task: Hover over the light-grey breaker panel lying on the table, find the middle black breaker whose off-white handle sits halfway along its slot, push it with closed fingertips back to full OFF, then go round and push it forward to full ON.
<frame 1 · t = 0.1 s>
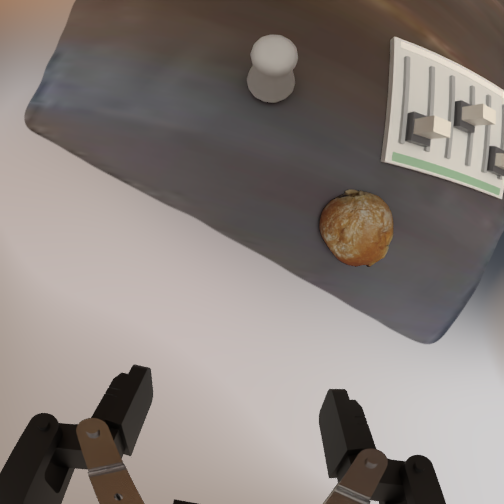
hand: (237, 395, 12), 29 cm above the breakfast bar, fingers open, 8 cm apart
breaker b: (474, 115, 29), point 5 cm above the breakfast bar, slide at 3.5 cm
breaker a: (427, 128, 30), point 5 cm above the breakfast bar, slide at 8.0 cm
bread roll: (354, 226, 40), on the breakfast bar
salt shaker: (270, 85, 34), on the breakfast bar
panel: (454, 121, 34), on the breakfast bar
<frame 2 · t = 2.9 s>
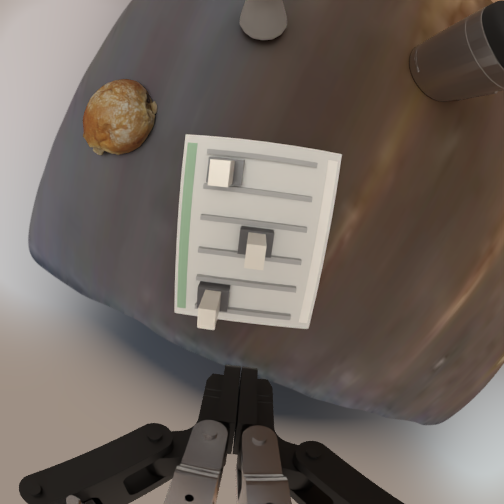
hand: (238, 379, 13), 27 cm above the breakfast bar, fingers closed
breaker b: (255, 247, 34), point 5 cm above the breakfast bar, slide at 3.5 cm
breaker a: (223, 171, 32), point 5 cm above the breakfast bar, slide at 8.0 cm
bread roll: (123, 120, 35), on the breakfast bar
breaker c: (210, 305, 36), point 5 cm above the breakfast bar, slide at 8.0 cm
salt shaker: (263, 28, 31), on the breakfast bar
panel: (252, 235, 39), on the breakfast bar
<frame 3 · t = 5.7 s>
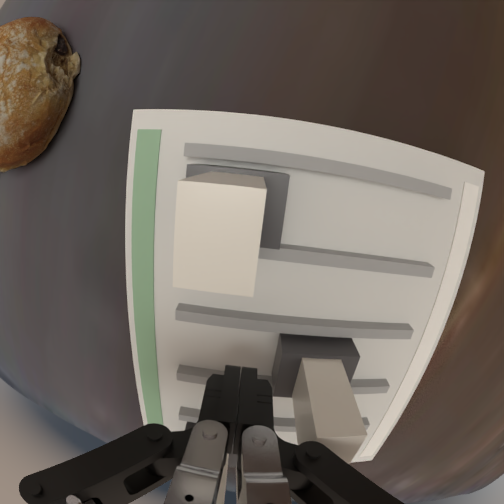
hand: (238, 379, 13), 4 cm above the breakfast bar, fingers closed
breaker b: (320, 398, 13), point 5 cm above the breakfast bar, slide at 3.1 cm, touching gripper
breaker a: (230, 213, 10), point 5 cm above the breakfast bar, slide at 8.0 cm
bread roll: (25, 100, 14), on the breakfast bar
breaker c: (210, 471, 15), point 5 cm above the breakfast bar, slide at 8.0 cm
panel: (292, 339, 18), on the breakfast bar
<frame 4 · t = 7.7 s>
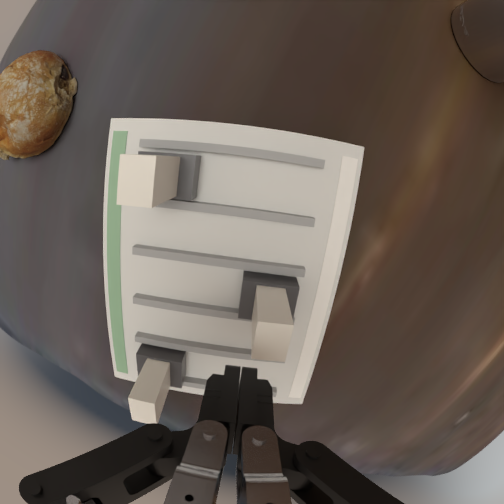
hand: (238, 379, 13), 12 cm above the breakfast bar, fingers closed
breaker b: (269, 313, 20), point 5 cm above the breakfast bar, slide at 0.0 cm
breaker a: (156, 176, 17), point 5 cm above the breakfast bar, slide at 8.0 cm
bread roll: (38, 109, 20), on the breakfast bar
breaker c: (154, 382, 22), point 5 cm above the breakfast bar, slide at 8.0 cm
panel: (217, 277, 25), on the breakfast bar
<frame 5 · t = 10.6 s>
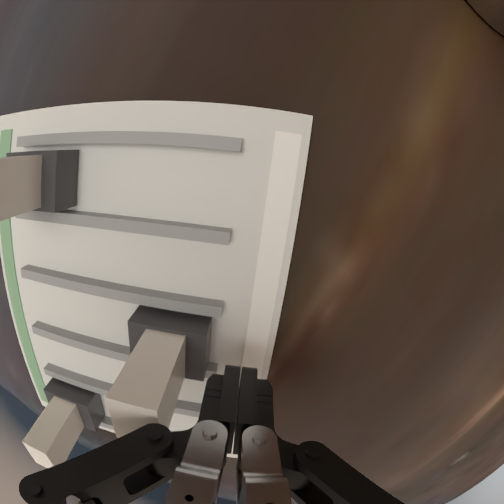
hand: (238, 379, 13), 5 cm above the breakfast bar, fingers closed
breaker b: (157, 371, 13), point 5 cm above the breakfast bar, slide at 0.0 cm, touching gripper
breaker a: (8, 184, 10), point 5 cm above the breakfast bar, slide at 8.0 cm
breaker c: (60, 424, 15), point 5 cm above the breakfast bar, slide at 8.0 cm
panel: (121, 307, 17), on the breakfast bar
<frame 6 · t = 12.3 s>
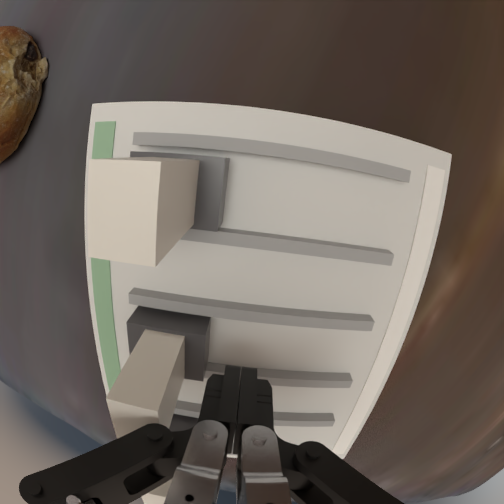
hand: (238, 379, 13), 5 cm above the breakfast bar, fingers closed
breaker b: (157, 372, 13), point 5 cm above the breakfast bar, slide at 8.2 cm, touching gripper
breaker a: (161, 194, 10), point 5 cm above the breakfast bar, slide at 8.0 cm
bread roll: (2, 103, 13), on the breakfast bar
breaker c: (169, 460, 15), point 5 cm above the breakfast bar, slide at 8.0 cm
panel: (249, 328, 18), on the breakfast bar
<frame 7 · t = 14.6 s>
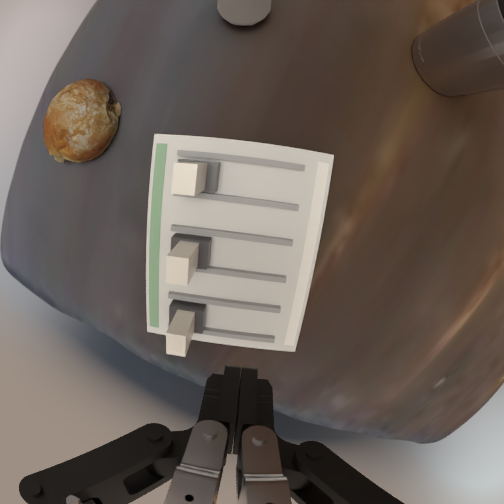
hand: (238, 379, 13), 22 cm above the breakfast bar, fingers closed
breaker b: (185, 258, 29), point 5 cm above the breakfast bar, slide at 8.0 cm
breaker a: (192, 176, 27), point 5 cm above the breakfast bar, slide at 8.0 cm
bread roll: (87, 124, 30), on the breakfast bar
breaker c: (183, 327, 32), point 5 cm above the breakfast bar, slide at 8.0 cm
salt shaker: (245, 13, 26), on the breakfast bar
panel: (230, 248, 34), on the breakfast bar
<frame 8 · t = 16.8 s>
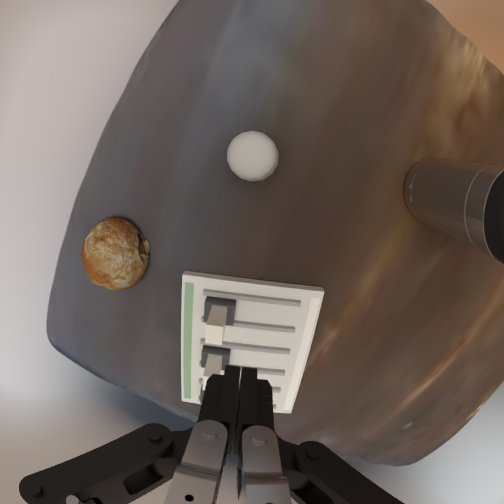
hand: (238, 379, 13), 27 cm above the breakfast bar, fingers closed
breaker b: (213, 368, 39), point 5 cm above the breakfast bar, slide at 8.0 cm
breaker a: (217, 320, 37), point 5 cm above the breakfast bar, slide at 8.0 cm
bread roll: (119, 251, 41), on the breakfast bar
breaker c: (211, 405, 42), point 5 cm above the breakfast bar, slide at 8.0 cm
salt shaker: (254, 157, 36), on the breakfast bar
panel: (244, 350, 44), on the breakfast bar
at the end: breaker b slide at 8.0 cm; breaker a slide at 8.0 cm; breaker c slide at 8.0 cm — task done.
